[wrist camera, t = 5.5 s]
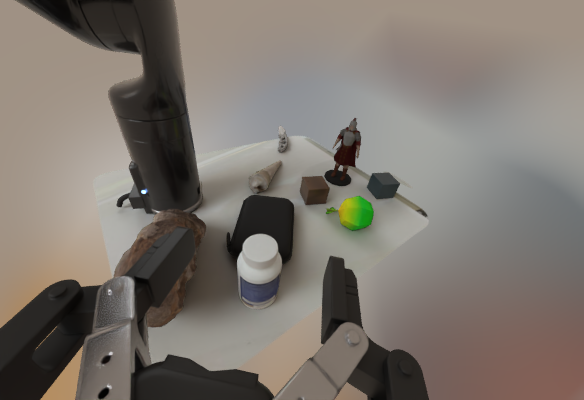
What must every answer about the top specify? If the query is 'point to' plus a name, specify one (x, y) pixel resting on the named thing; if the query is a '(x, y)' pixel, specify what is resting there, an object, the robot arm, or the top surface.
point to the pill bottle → (259, 271)
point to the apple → (355, 213)
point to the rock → (145, 239)
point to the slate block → (383, 185)
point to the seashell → (263, 178)
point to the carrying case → (264, 224)
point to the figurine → (345, 155)
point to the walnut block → (314, 190)
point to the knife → (282, 139)
